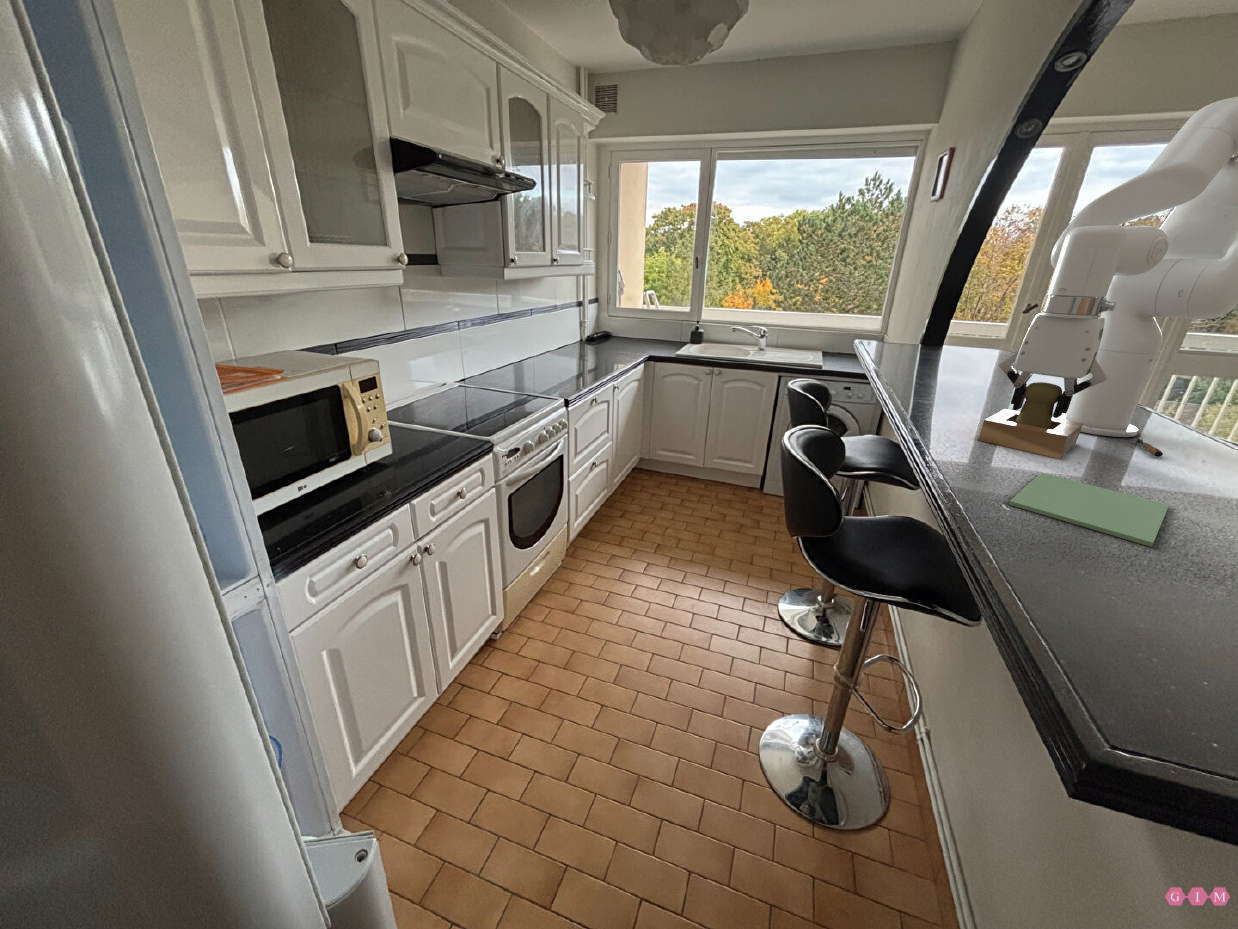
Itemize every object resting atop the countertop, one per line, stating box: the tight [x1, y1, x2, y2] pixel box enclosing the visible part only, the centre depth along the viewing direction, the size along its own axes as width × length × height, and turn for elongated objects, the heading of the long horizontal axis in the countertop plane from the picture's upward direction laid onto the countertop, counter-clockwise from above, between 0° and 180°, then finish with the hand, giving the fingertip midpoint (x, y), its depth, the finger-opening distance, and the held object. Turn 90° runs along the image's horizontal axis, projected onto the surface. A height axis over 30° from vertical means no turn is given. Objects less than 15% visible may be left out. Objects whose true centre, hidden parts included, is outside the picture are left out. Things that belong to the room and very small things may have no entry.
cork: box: [1015, 381, 1063, 429], centre depth 91 cm, size 6×6×11 cm
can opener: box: [1134, 438, 1164, 458], centre depth 90 cm, size 9×2×1 cm, turn 147°
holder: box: [977, 408, 1083, 460], centre depth 92 cm, size 12×12×4 cm
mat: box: [1008, 472, 1170, 548], centre depth 68 cm, size 16×14×1 cm
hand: (1036, 411), depth 91 cm, fingers closed on cork, 5 cm apart
